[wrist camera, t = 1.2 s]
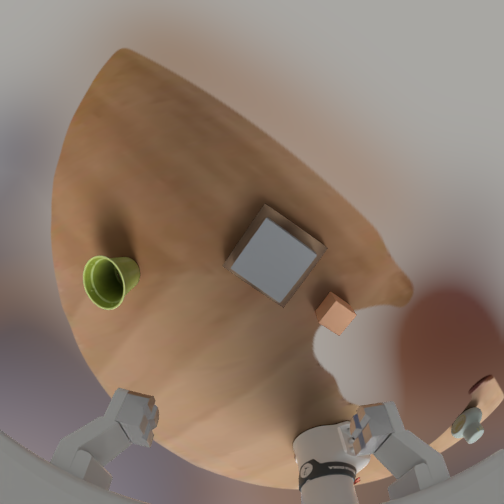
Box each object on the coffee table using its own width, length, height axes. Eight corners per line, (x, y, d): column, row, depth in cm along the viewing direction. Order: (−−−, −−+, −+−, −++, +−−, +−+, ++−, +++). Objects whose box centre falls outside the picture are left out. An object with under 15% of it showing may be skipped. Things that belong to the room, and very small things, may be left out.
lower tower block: (324, 245, 45) (327, 248, 41) (283, 300, 47) (283, 307, 44) (265, 203, 45) (264, 203, 41) (226, 261, 47) (222, 266, 44)
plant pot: (101, 260, 49) (75, 269, 40) (133, 239, 47) (108, 246, 39) (122, 301, 50) (98, 316, 41) (156, 284, 48) (134, 298, 40)
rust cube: (349, 304, 46) (356, 315, 41) (333, 323, 46) (339, 336, 42) (330, 291, 46) (336, 300, 41) (314, 311, 46) (318, 322, 41)
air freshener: (460, 429, 49) (473, 448, 39) (444, 431, 49) (456, 452, 39) (479, 402, 47) (494, 420, 37) (464, 403, 47) (480, 423, 37)
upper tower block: (314, 251, 42) (317, 255, 38) (279, 295, 43) (279, 303, 40) (267, 216, 42) (266, 217, 38) (234, 263, 43) (230, 268, 40)
